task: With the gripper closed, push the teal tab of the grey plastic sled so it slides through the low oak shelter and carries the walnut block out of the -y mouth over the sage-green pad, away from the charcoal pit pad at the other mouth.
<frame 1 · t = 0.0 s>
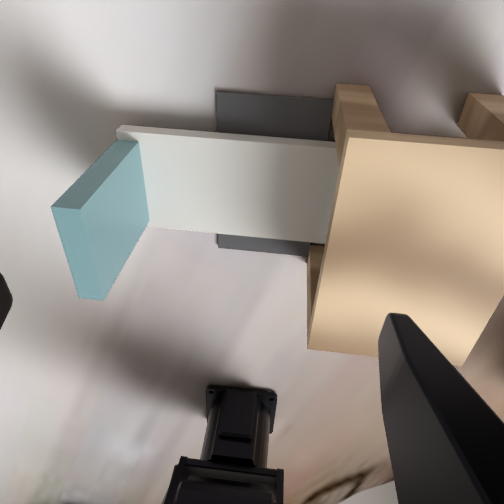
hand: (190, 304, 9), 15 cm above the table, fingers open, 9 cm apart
pit pad: (268, 182, 23), on the table
sled: (289, 226, 20), point 4 cm above the table, slide at 0.0 cm, touching block
tunnel: (388, 193, 23), on the table
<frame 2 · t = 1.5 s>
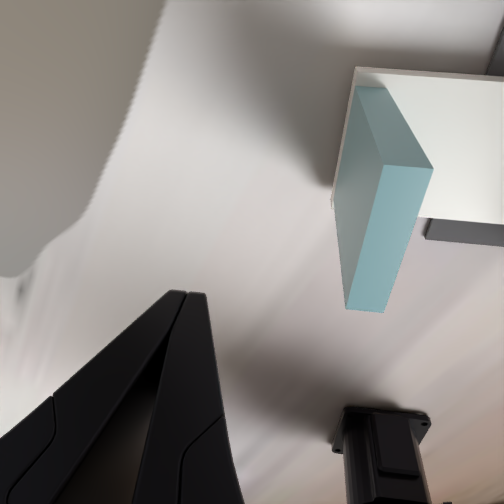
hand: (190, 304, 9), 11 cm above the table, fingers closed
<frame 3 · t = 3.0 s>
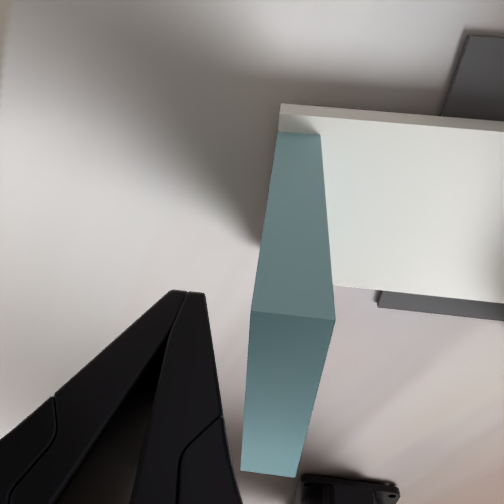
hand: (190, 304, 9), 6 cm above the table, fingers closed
pit pad: (502, 208, 13), on the table
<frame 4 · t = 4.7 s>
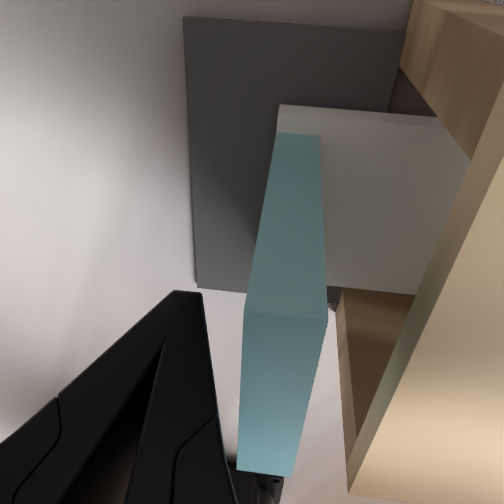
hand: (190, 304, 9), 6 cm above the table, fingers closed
pit pad: (277, 187, 14), on the table
tunnel: (484, 207, 13), on the table
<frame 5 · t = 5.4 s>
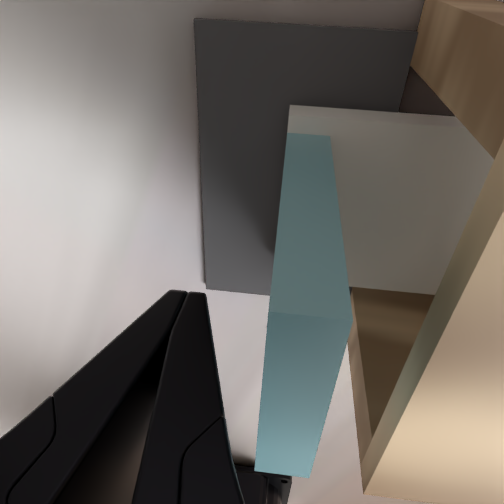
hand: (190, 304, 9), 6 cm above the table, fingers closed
pit pad: (287, 188, 14), on the table
tunnel: (494, 206, 13), on the table
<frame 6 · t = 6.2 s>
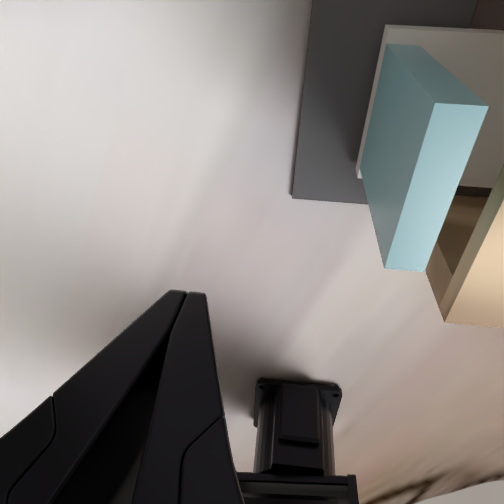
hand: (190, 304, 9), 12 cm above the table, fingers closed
pit pad: (371, 101, 17), on the table
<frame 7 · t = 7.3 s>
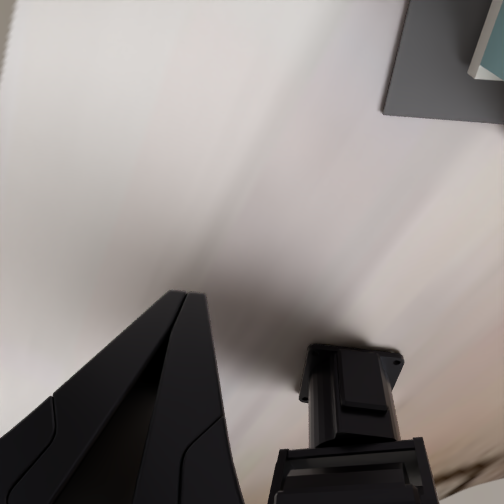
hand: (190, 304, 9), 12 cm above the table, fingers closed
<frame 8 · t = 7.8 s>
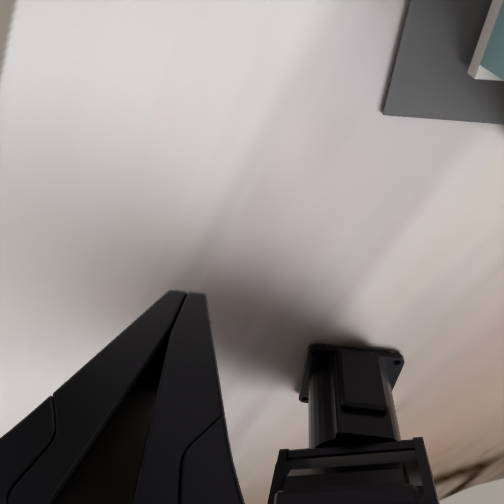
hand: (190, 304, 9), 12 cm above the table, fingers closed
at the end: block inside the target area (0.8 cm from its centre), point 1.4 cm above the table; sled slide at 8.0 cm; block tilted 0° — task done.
